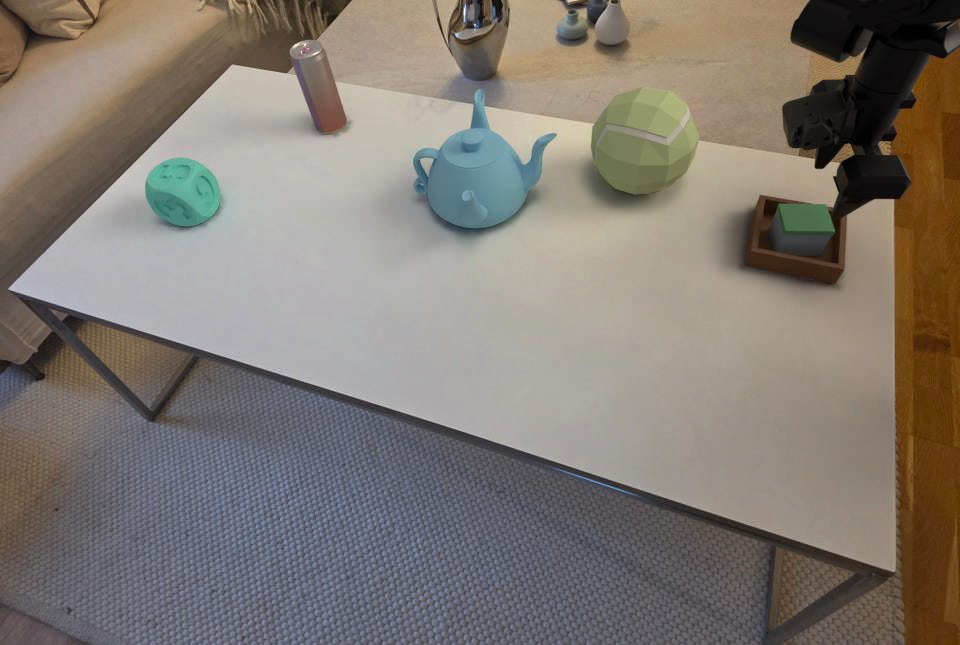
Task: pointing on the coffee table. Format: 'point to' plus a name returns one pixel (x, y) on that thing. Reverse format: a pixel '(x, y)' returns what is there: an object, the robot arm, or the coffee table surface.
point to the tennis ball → (644, 140)
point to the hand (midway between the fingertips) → (826, 192)
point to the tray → (807, 267)
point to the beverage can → (318, 86)
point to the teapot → (478, 174)
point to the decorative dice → (182, 191)
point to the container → (801, 229)
